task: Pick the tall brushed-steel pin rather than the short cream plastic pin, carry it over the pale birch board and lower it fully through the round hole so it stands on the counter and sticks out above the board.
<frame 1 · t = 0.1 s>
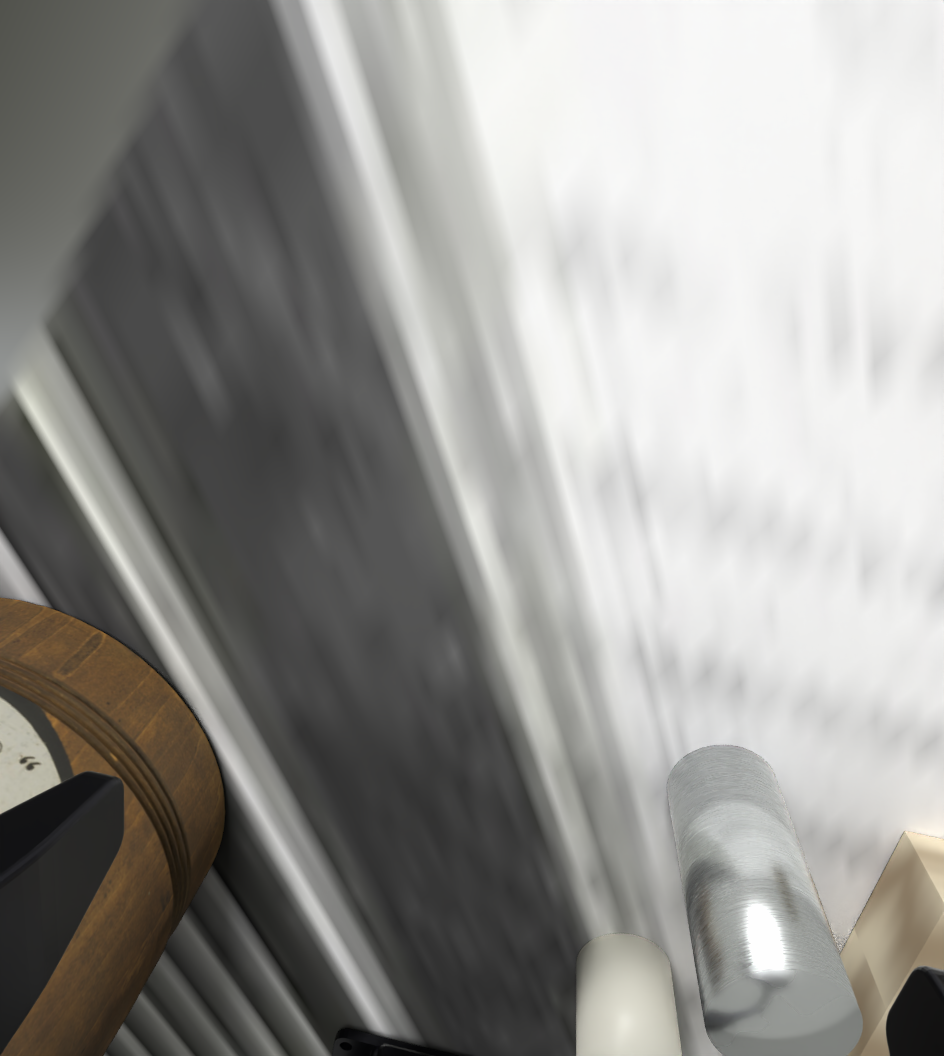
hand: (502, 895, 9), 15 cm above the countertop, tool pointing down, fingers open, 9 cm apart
wooden container: (42, 764, 29), on the countertop
tall steel pin: (721, 788, 25), on the countertop
short cream pin: (623, 967, 29), on the countertop
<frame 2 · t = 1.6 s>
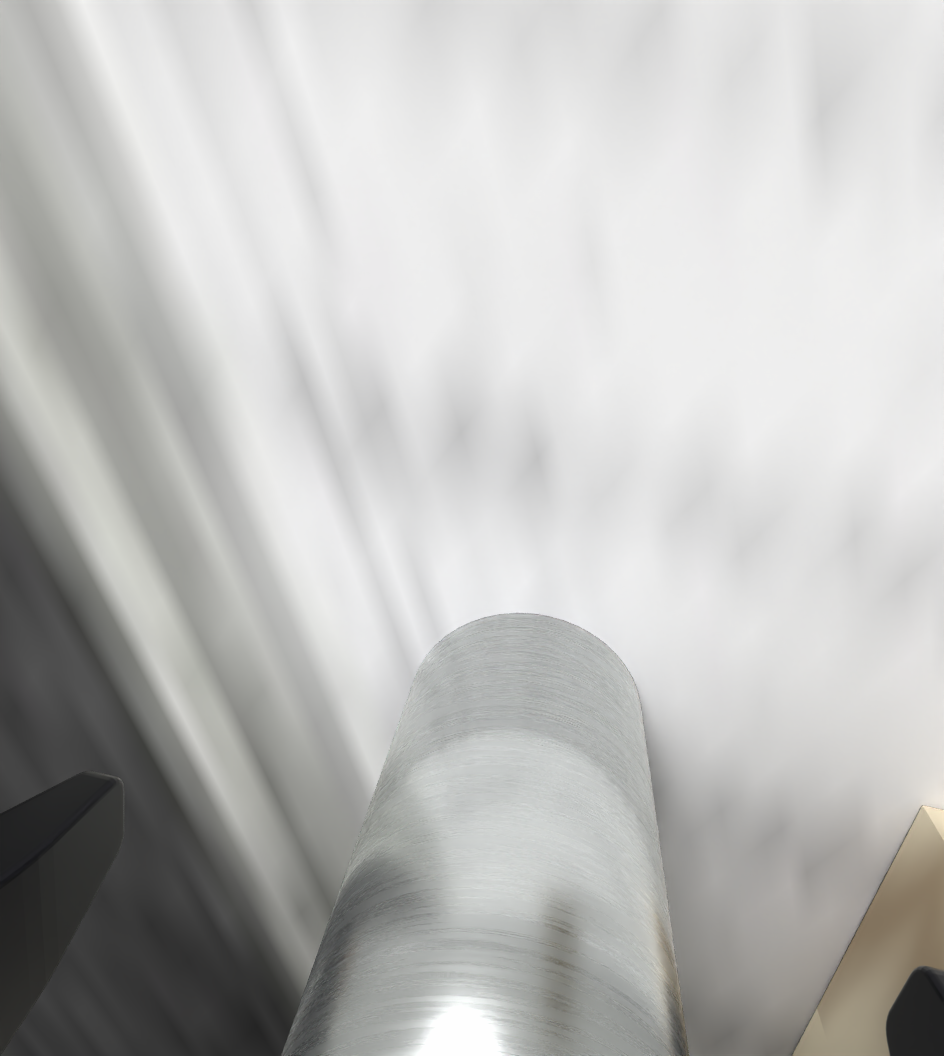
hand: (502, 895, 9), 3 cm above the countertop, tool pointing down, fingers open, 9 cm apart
tall steel pin: (523, 715, 12), on the countertop
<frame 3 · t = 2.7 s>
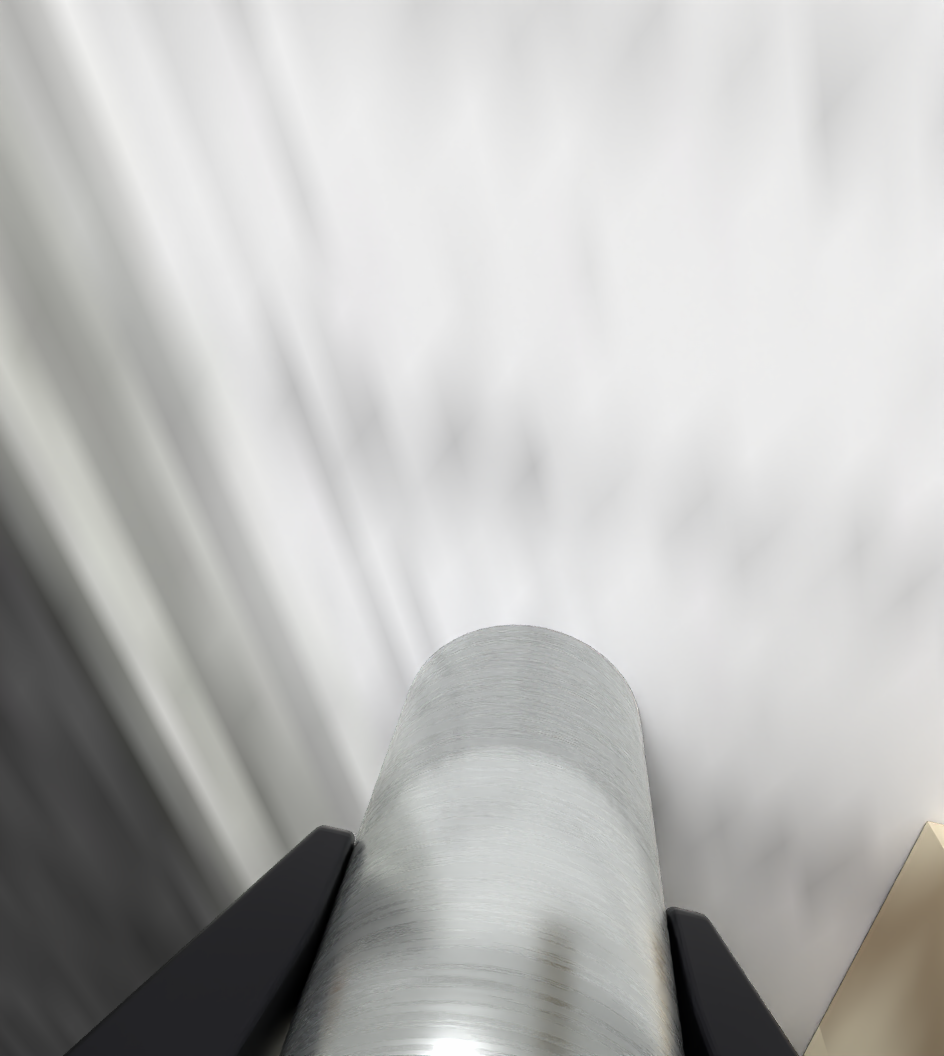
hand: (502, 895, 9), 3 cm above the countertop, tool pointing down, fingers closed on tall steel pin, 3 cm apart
tall steel pin: (520, 728, 11), on the countertop, touching gripper
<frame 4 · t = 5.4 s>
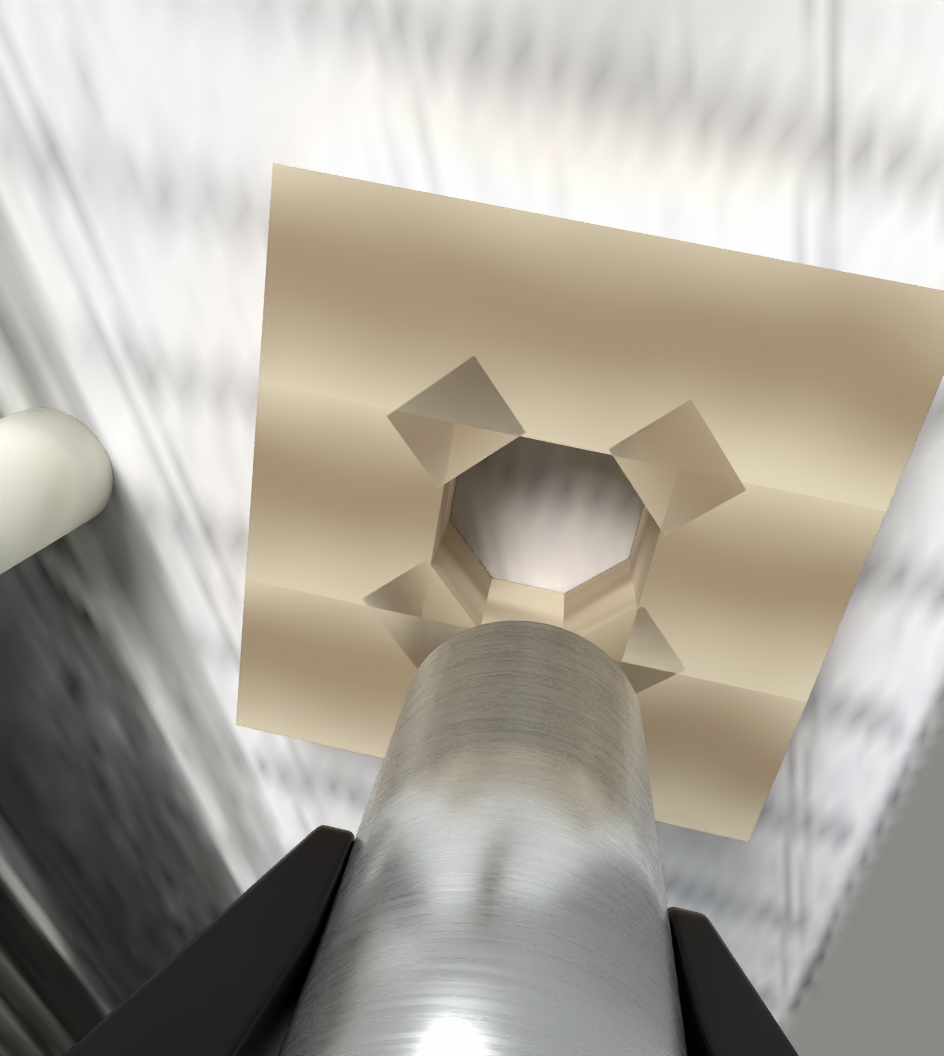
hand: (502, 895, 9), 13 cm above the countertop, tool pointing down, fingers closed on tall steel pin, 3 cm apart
hole board: (546, 504, 20), on the countertop
tall steel pin: (521, 724, 11), point 10 cm above the countertop, touching gripper
short cream pin: (55, 467, 22), on the countertop
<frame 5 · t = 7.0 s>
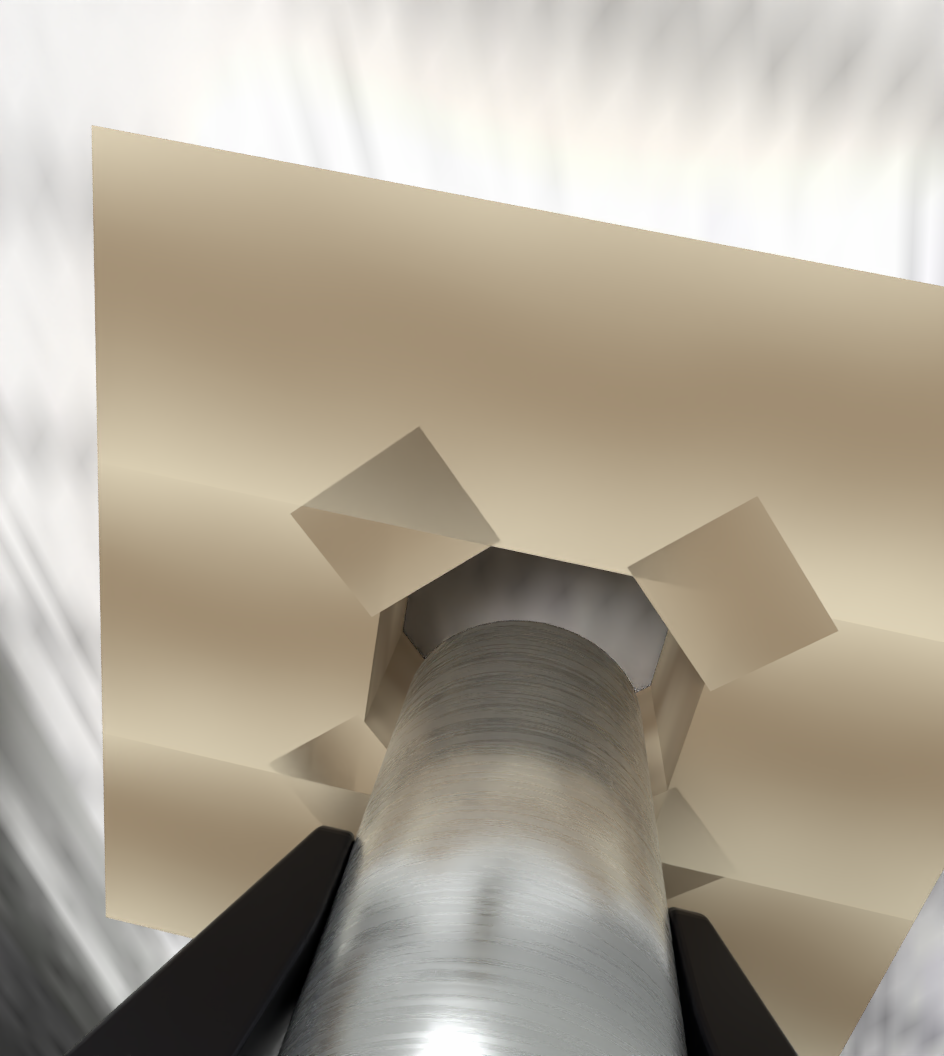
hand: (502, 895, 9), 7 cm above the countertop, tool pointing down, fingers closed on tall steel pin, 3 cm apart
hole board: (536, 613, 15), on the countertop
tall steel pin: (521, 724, 11), point 4 cm above the countertop, touching gripper
when the fingers open (4 cm above the countertop, at t = 8.2 s): tall steel pin stays where it is, resting in hole board.
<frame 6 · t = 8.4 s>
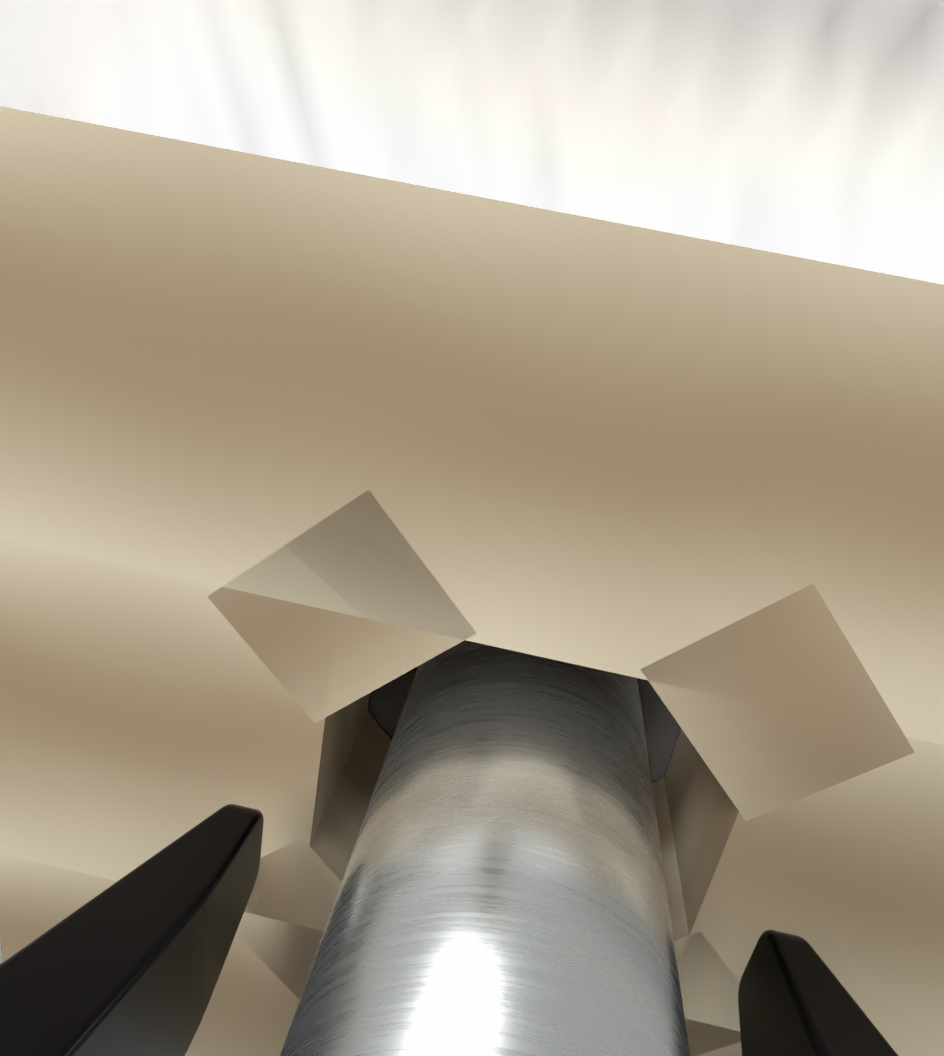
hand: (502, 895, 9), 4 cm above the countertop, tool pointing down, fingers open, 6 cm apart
hole board: (526, 692, 12), on the countertop
tall steel pin: (526, 687, 12), resting in hole board
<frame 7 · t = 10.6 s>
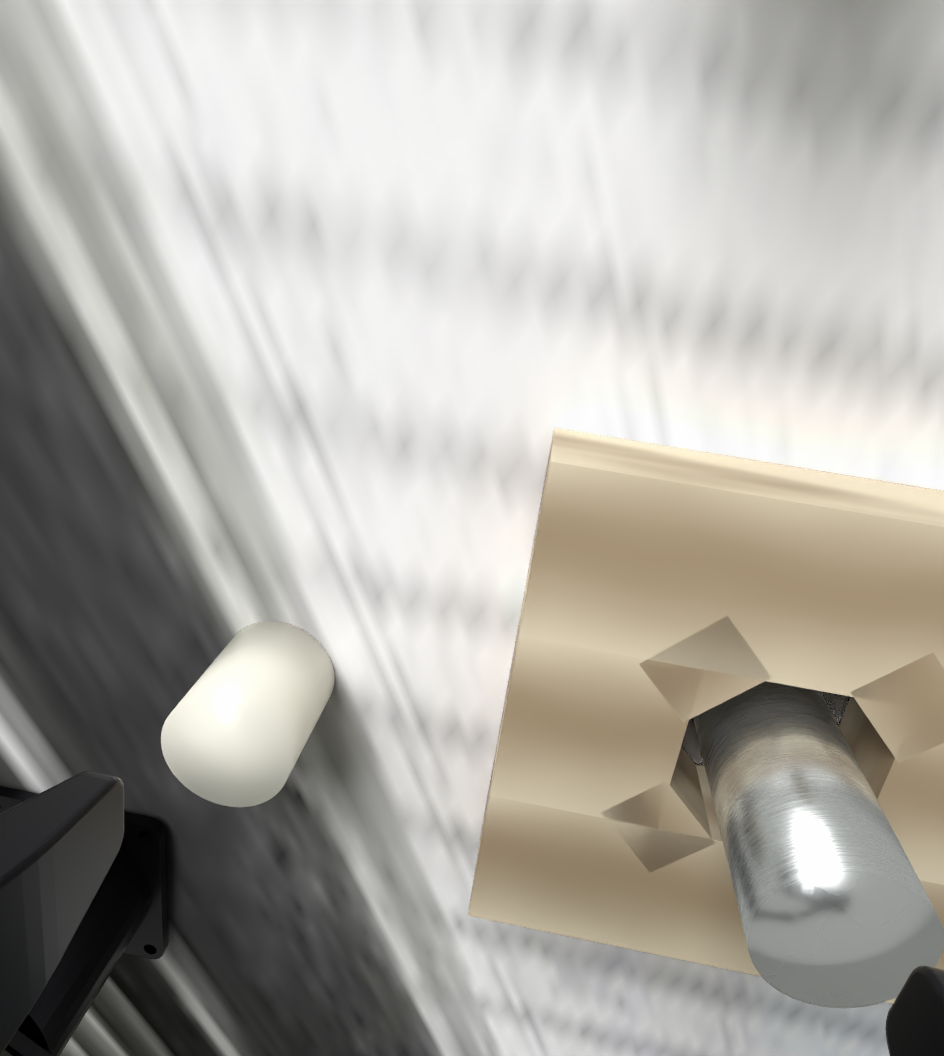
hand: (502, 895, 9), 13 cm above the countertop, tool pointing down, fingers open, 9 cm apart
hole board: (753, 702, 22), on the countertop
tall steel pin: (753, 699, 22), resting in hole board
short cream pin: (279, 670, 24), on the countertop
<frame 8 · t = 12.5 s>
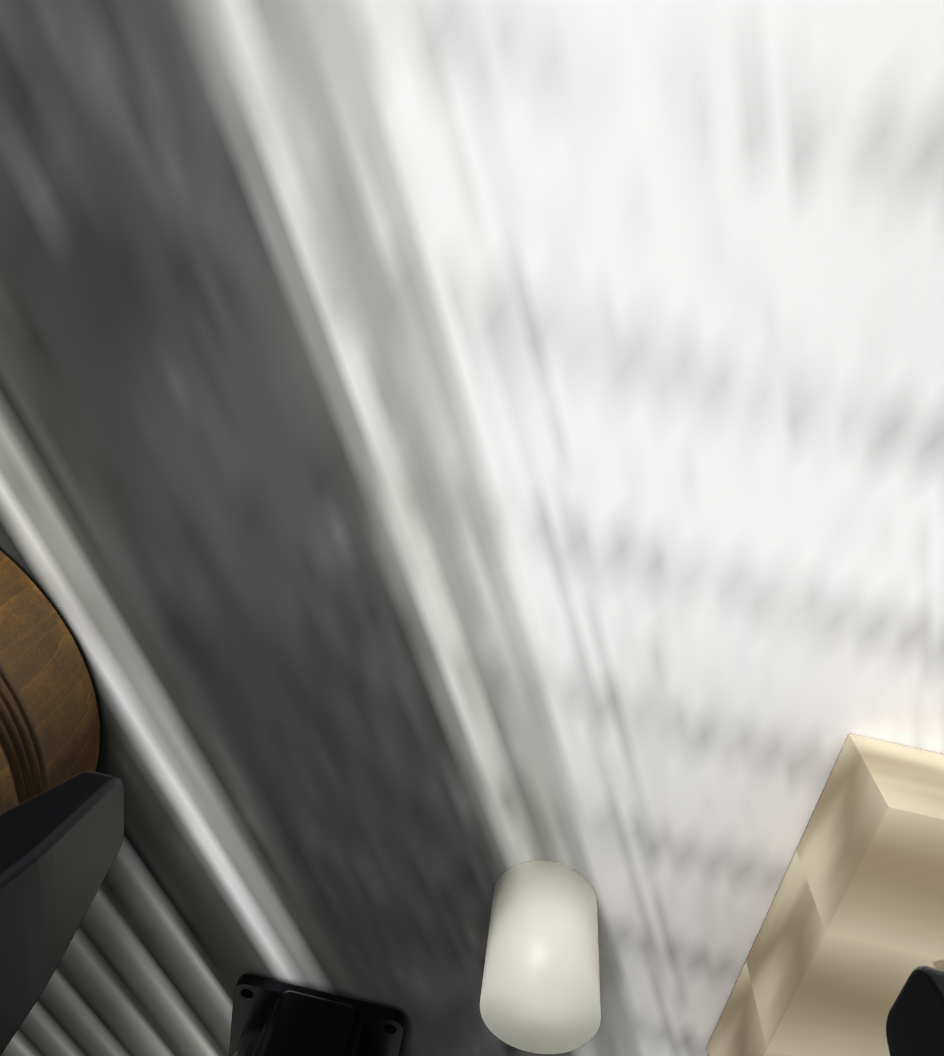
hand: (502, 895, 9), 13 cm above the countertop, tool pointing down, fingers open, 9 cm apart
short cream pin: (544, 900, 26), on the countertop
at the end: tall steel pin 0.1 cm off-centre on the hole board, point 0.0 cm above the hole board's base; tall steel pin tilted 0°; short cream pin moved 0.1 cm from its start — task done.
